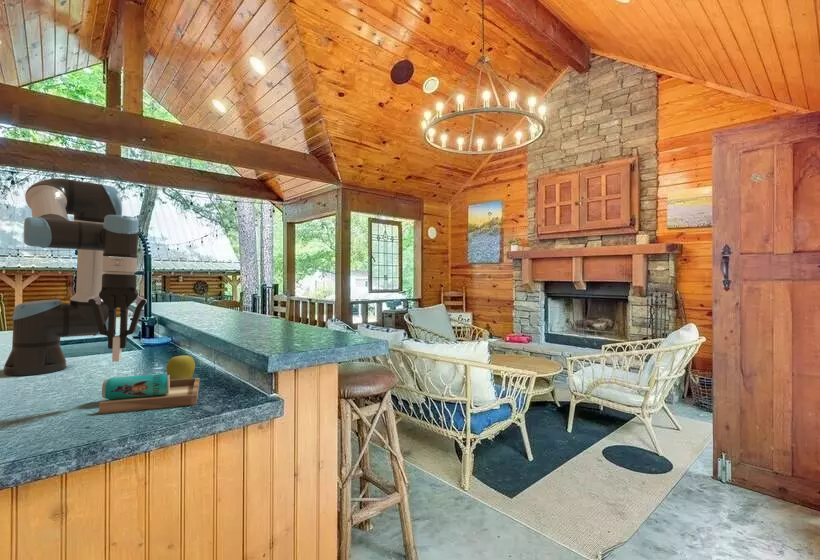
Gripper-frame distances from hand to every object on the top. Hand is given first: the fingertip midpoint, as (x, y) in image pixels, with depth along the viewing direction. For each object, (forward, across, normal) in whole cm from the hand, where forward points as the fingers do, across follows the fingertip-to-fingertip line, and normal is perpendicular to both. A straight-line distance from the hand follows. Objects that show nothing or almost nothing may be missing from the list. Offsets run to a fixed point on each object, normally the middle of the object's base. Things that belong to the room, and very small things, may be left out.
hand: (116, 360), depth 106 cm
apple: (+11, +14, +17) cm, 25 cm away
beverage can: (+8, -3, 0) cm, 8 cm away
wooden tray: (+11, +8, 0) cm, 14 cm away
